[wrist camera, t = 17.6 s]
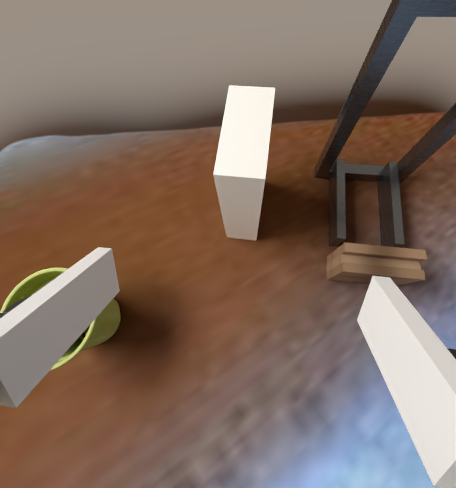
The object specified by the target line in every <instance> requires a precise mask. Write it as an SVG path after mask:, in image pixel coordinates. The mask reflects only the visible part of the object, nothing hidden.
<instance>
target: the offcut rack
mask: <svg viewBox="0 0 456 488" xmlns="http://www.w3.org/2000/svg"><path fill="white" fill-rule="evenodd" d="M418 16H419V17H420V16H421V17H456V0H392V2H391V4H390V6H389V8H388V10H387V12H386V15H385V17H384V19H383V21H382V23H381V25H380V28H379V30H378V32H377V34H376V37H375V39H374V41H373V43H372V45H371V47H370V49H369V52H368V54H367V56H366V58H365V61H364V62H363V65H362V67H361V69H360V71H359V73H358V76H357V78H356V80H355V82H354V84H353V86H352V89H351V91H350V93H349V95H348V97H347V100H346V102H345V104H344V106H343V108H342V111H341V113H340V115H339V117H338V119H337V121H336V123H335V126H334V128H333V130H332V132H331V134H330V137H329V139H328V141H327V143H326V145H325V147H324V150H323V152H322V154H321V156H320V158H319V160H318V163H317V165H316V167H315V177H321V178H329V245H330V246H338V245H339V244H340V243H342V242H343V241H344V240H345V239H346V207H345V179H350V180H364V181H378V197H379V214H380V231H381V246H388V247H400V246H402V245H404V233H403V222H402V210H401V199H400V188H399V183H401V182H402V181H403V180H404V179H406V178H407V177H408V176H409V175H410V174H411V173H412V172H413V171H415V170H416V169H417V168H418V167H419V166H420V165H421V164H422V163H424V162H425V161H426V160H427V159H428V158H429V157H430V156H431V155H433V154H434V153H435V152H436V151H437V150H438V149H439V148H440V147H442V146H443V145H444V144H445V143H446V142H447V141H448V140H449V139H451V138H452V137H453V136H454V135H455V134H456V103H455V104H454V106H452V107H451V108H450V110H449V111H448V112H447V113H446V114H445V115H444V116H443V117H442V118H441V119H440V120H439V121H438V122H437V123H436V124H435V125H434V126H433V127H432V128H431V129H430V130H429V131H428V132H427V133H426V134H425V135H424V136H423V137H422V138H421V139H420V140H419V142H418V143H417V144H416V145H415V146H414V147H413V148H412V149H411V150H410V151H409V152H408V153H407V154H406V155H405V156H404V157H403V158H402V159H401V160H400V161H399V162H398V163H396V162H389V163H388V164H387V165H386V166H380V165H364V164H348V163H345V159H337V157H338V155H339V153H340V152H341V150H342V148H343V146H344V145H345V143H346V141H347V139H348V137H349V136H350V134H351V132H352V130H353V129H354V127H355V125H356V123H357V122H358V120H359V118H360V116H361V114H362V113H363V111H364V109H365V107H366V106H367V104H368V102H369V100H370V98H371V97H372V95H373V93H374V91H375V89H376V88H377V86H378V84H379V83H380V81H381V79H382V77H383V75H384V74H385V72H386V70H387V68H388V67H389V65H390V63H391V61H392V60H393V58H394V56H395V54H396V52H397V51H398V49H399V47H400V45H401V44H402V42H403V40H404V38H405V37H406V35H407V33H408V31H409V30H410V27H411V26H412V24H413V22H414V21H415V19H416V17H418ZM335 160H336V161H335ZM334 162H335V163H334Z"/></svg>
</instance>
